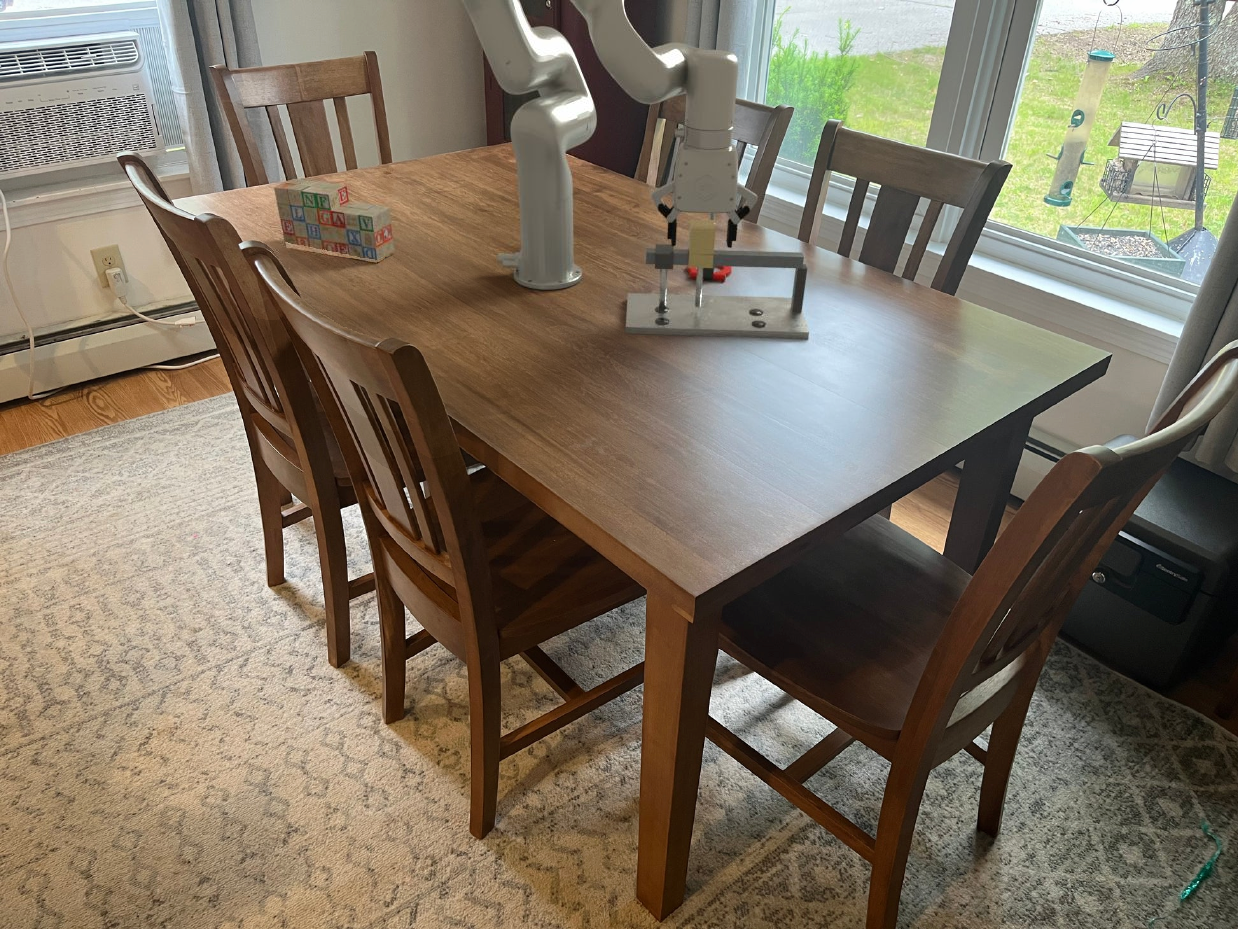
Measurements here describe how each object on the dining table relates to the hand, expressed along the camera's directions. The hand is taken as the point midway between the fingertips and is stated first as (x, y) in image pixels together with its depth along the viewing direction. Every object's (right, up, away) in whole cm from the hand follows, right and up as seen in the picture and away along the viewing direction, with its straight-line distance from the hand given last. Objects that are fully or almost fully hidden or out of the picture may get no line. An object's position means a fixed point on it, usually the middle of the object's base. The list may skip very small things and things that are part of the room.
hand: (701, 243), depth 158 cm
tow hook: (+3, 0, +23) cm, 23 cm away
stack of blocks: (-68, +5, +29) cm, 74 cm away
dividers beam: (+4, -10, +6) cm, 12 cm away
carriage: (0, -9, +6) cm, 10 cm away
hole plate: (+3, -12, +5) cm, 13 cm away
